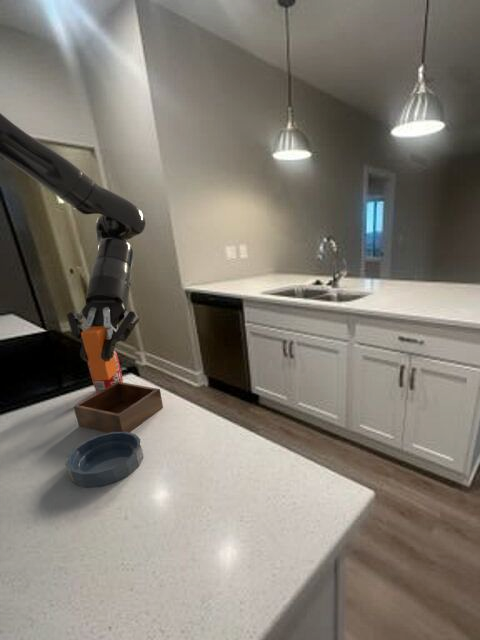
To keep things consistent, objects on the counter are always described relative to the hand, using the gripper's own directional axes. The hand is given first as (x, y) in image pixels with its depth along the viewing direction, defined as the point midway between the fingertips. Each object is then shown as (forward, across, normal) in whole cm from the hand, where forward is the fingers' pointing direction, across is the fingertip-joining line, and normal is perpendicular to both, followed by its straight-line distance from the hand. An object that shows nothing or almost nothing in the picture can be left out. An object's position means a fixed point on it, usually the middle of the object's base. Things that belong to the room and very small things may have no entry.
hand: (95, 359), depth 67 cm
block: (+2, 0, +5) cm, 5 cm away
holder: (+8, -2, +18) cm, 20 cm away
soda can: (-2, -11, +28) cm, 30 cm away
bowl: (+19, +3, +6) cm, 21 cm away
